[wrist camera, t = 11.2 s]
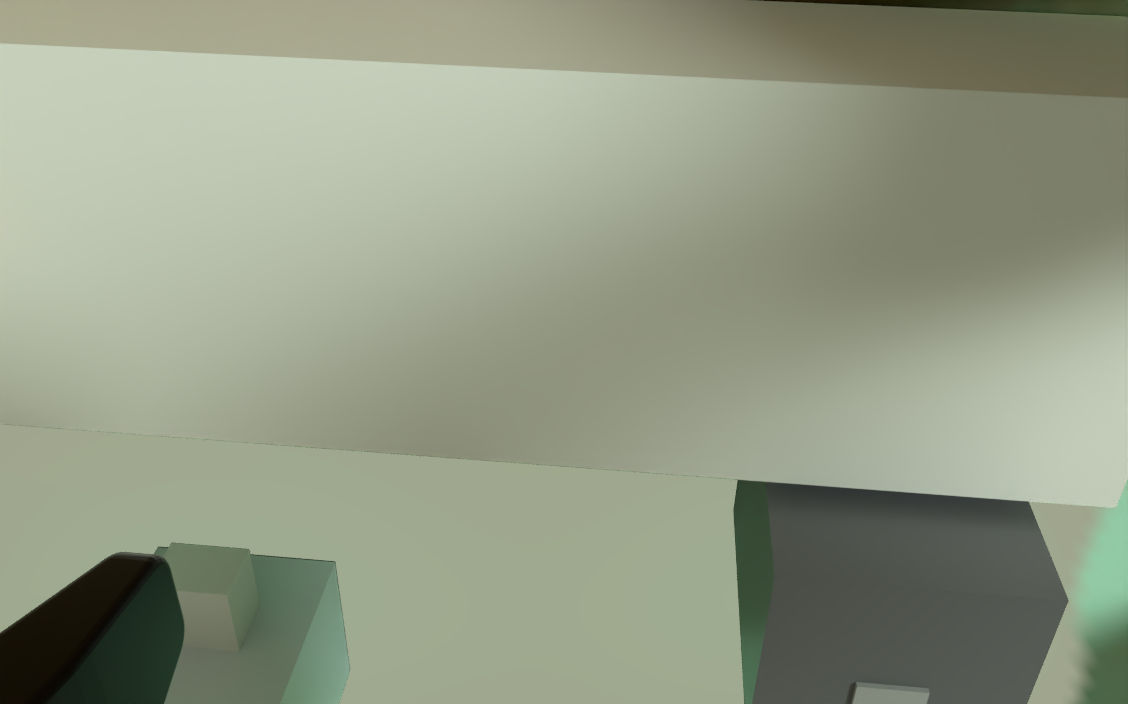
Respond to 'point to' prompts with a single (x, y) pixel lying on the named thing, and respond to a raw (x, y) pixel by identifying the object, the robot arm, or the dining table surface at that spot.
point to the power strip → (578, 235)
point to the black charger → (890, 596)
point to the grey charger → (256, 628)
